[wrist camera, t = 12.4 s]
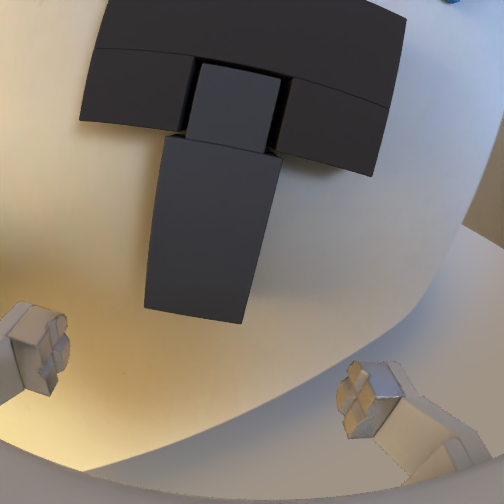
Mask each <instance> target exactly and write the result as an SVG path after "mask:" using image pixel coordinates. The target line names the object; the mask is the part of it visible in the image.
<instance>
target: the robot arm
mask: <svg viewBox="0 0 504 504" xmlns="http://www.w3.org/2000/svg"><path fill="white" fill-rule="evenodd" d="M67 327H68V325H67V318H66V316H65V315H64V314H63V313H59V312H56V311H53V310H49V309H46V308H43V307H40V306H37V305H33V304H30V303H27V302H24V301H19V302H17V303H16V304H15V305H14V306H13V307H12V308H11V309H10V311H9V312H8V313H7V314H6V315H5V316H4V317H3V318H2V319H1V320H0V405H2V404H3V403H5V402H7V401H8V400H10V399H11V398H13V397H14V396H16V395H17V394H19V393H20V392H22V391H24V388H25V389H28V390H31V391H34V392H37V393H40V394H43V395H46V396H49V397H50V396H51V394H52V392H53V390H54V388H55V386H56V384H57V382H58V377H57V373H59V372H61V371H63V370H64V369H65V367H66V365H67V363H68V359H69V355H70V341H69V338H68V337H67V335H66V334H65V333H64V332H65V330H66V329H67ZM347 373H348V377H347V378H345V379H344V380H343V381H341V383H340V385H339V387H338V389H337V395H336V404H337V408H338V411H339V412H340V413H342V414H343V415H344V416H345V418H344V420H343V426H344V429H345V431H346V434H347V437H348V439H358V438H373V440H374V441H375V442H376V443H377V444H378V445H379V446H380V447H381V448H382V449H383V450H384V451H385V452H386V453H387V454H388V455H389V456H390V457H391V458H392V459H393V460H394V461H395V462H396V463H397V464H398V465H399V466H400V467H401V468H402V469H403V470H404V471H405V472H406V473H407V474H408V475H409V476H410V477H409V478H408V479H407V480H406V481H405V482H404V483H403V484H401V486H400V487H396V488H390V489H385V490H379V491H374V492H367V493H360V494H353V495H346V496H336V497H327V498H314V499H296V500H246V499H226V498H214V497H203V496H194V495H186V494H178V493H172V492H166V491H160V490H154V489H149V488H144V487H139V486H134V485H130V484H125V483H121V482H117V481H113V480H109V479H105V478H102V477H98V476H95V475H91V474H88V473H85V472H81V471H78V470H75V469H72V468H69V467H66V466H63V465H60V464H58V463H55V462H52V461H50V460H47V459H44V458H42V457H39V456H37V455H34V454H32V453H30V452H27V451H25V450H23V449H20V448H18V447H16V446H14V445H11V444H9V443H7V442H5V441H3V440H1V439H0V504H504V454H502V455H500V456H497V457H495V458H492V456H491V455H490V453H489V451H488V449H487V448H486V446H485V444H484V443H483V441H482V440H481V438H480V436H479V435H478V433H477V431H475V430H474V429H472V428H471V427H469V426H468V425H466V424H465V423H463V422H461V421H460V420H459V419H457V418H456V417H454V416H452V415H451V414H450V413H448V412H447V411H445V410H444V409H442V408H441V407H439V406H438V405H436V404H435V403H433V402H432V401H430V400H429V399H427V398H426V397H424V396H419V394H418V392H417V391H416V389H415V388H414V386H413V384H412V383H411V381H410V379H409V378H408V376H407V374H406V373H405V371H404V369H403V368H402V366H401V364H399V363H398V362H396V361H383V362H374V361H373V362H371V361H353V362H352V363H351V364H350V366H349V367H348V369H347Z"/></svg>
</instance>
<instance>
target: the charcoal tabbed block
mask: <svg viewBox="0 0 504 504" xmlns="http://www.w3.org/2000/svg"><path fill="white" fill-rule="evenodd" d="M280 84H281V79H279V78H275V77H270V76H266V75H262V74H258V73H253V72H248V71H244V70H239V69H234V68H229V67H223V66H218V65H212V64H206V63H203V64H202V66H201V70H200V74H199V78H198V82H197V87H196V91H195V95H194V100H193V104H192V108H191V113H190V118H189V122H188V127H187V132H186V135H181V134H174V135H169V136H166V137H165V142H164V148H163V153H162V159H161V165H160V171H159V177H158V183H157V190H156V197H155V204H154V211H153V219H152V227H151V235H150V244H149V253H148V263H147V274H146V286H145V299H144V308H148V309H153V310H158V311H164V312H169V313H175V314H180V315H186V316H192V317H198V318H204V319H210V320H216V321H223V322H229V323H236V324H242V320H243V317H244V313H245V309H246V305H247V301H248V297H249V293H250V289H251V285H252V281H253V277H254V273H255V269H256V265H257V261H258V257H259V253H260V249H261V245H262V241H263V237H264V233H265V229H266V225H267V221H268V217H269V213H270V209H271V205H272V201H273V197H274V193H275V189H276V185H277V181H278V177H279V173H280V169H281V165H282V161H283V159H282V158H280V157H279V156H277V155H276V154H274V153H273V152H269V151H265V147H266V143H267V138H268V134H269V130H270V126H271V122H272V117H273V113H274V109H275V105H276V101H277V97H278V93H279V88H280Z"/></svg>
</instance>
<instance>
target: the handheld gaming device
mask: <svg viewBox="0 0 504 504" xmlns="http://www.w3.org/2000/svg"><path fill="white" fill-rule="evenodd" d="M447 1H448V2H449V3H452V4H453V3H456V2H459V1H460V0H447Z"/></svg>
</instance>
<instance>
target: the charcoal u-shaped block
mask: <svg viewBox="0 0 504 504" xmlns="http://www.w3.org/2000/svg"><path fill="white" fill-rule="evenodd" d="M406 21H407V19H406V18H404V17H402V16H400V15H398V14H396V13H394V12H391V11H389V10H387V9H385V8H383V7H380V6H378V5H376V4H374V3H371V2H369V1H366V0H109V1H108V4H107V7H106V10H105V13H104V16H103V19H102V22H101V26H100V29H99V33H98V36H97V40H96V43H95V47H94V48H95V49H94V51H93V54H92V58H91V63H90V67H89V71H88V76H87V80H86V85H85V90H84V95H83V100H82V106H81V111H80V117H79V120H80V121H92V122H102V123H112V124H121V125H130V126H138V127H146V128H153V129H160V130H167V131H173V132H179V131H184V130H186V126H187V122H188V117H189V112H190V108H191V103H192V99H193V94H194V90H195V86H196V82H197V77H198V73H199V69H200V68H201V66H202V64H203V63H206V64H212V65H218V66H223V67H229V68H234V69H239V70H244V71H248V72H253V73H258V74H262V75H266V76H270V77H275V78H279V79H281V84H283V85H282V89H281V93H280V97H279V101H278V105H277V109H276V113H275V118H274V122H273V126H272V130H271V134H270V138H269V143H268V147H270V148H272V149H273V150H275V151H277V152H281V153H285V154H289V155H293V156H297V157H301V158H305V159H309V160H313V161H317V162H320V163H324V164H328V165H331V166H335V167H339V168H342V169H346V170H349V171H352V172H356V173H359V174H362V175H366V176H369V177H372V175H373V172H374V168H375V164H376V161H377V157H378V153H379V149H380V146H381V142H382V138H383V134H384V130H385V126H386V122H387V117H388V113H389V108H390V105H391V100H392V96H393V91H394V86H395V82H396V77H397V72H398V67H399V62H400V56H401V51H402V45H403V39H404V33H405V27H406Z"/></svg>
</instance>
